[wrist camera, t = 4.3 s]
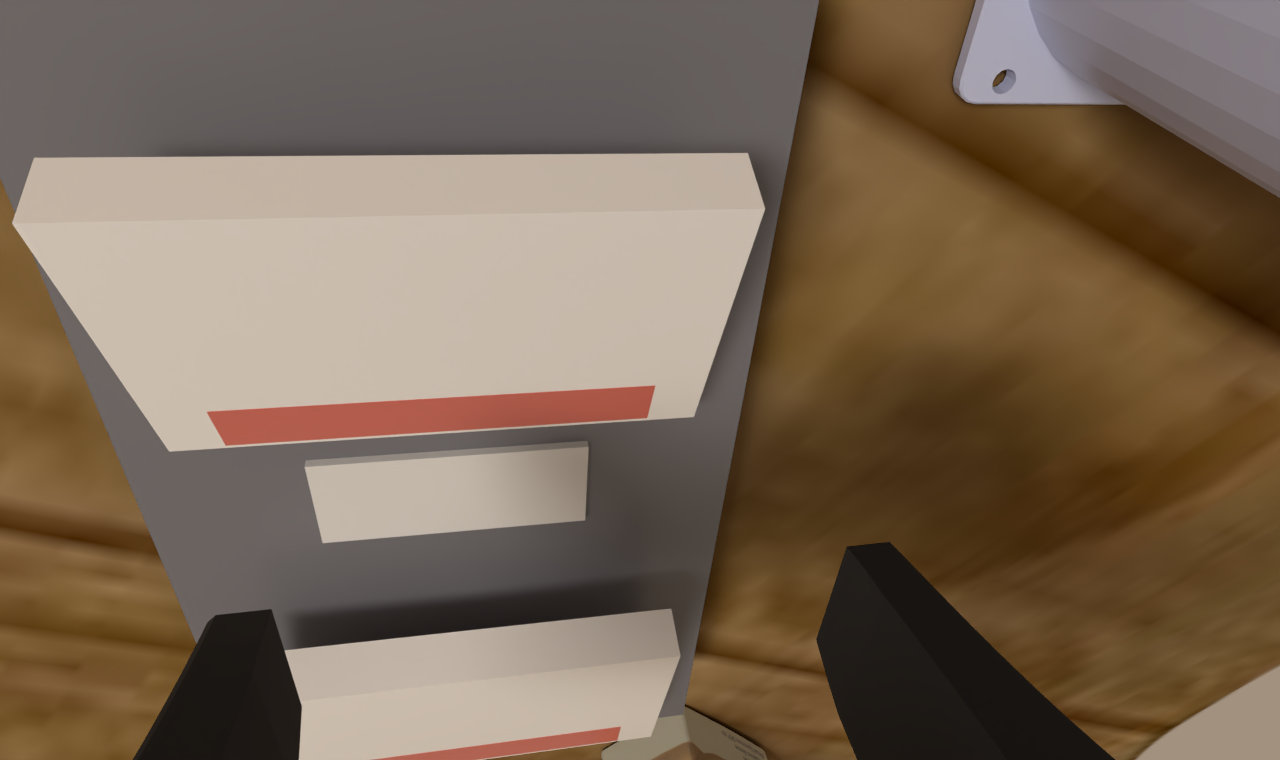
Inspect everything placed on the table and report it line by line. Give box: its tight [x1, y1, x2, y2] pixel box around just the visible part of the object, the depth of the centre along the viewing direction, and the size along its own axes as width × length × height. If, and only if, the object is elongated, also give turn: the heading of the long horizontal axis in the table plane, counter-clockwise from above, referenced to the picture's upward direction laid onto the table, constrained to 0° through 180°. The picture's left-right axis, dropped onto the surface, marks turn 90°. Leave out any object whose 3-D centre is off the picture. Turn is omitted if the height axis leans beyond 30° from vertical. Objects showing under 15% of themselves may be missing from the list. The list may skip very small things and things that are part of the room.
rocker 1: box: [12, 153, 765, 452], centre depth 15 cm, size 10×6×1 cm, turn 86°
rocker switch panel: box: [0, 0, 819, 718], centre depth 20 cm, size 13×22×3 cm, turn 176°
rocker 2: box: [284, 609, 681, 760], centre depth 22 cm, size 10×6×1 cm, turn 86°
